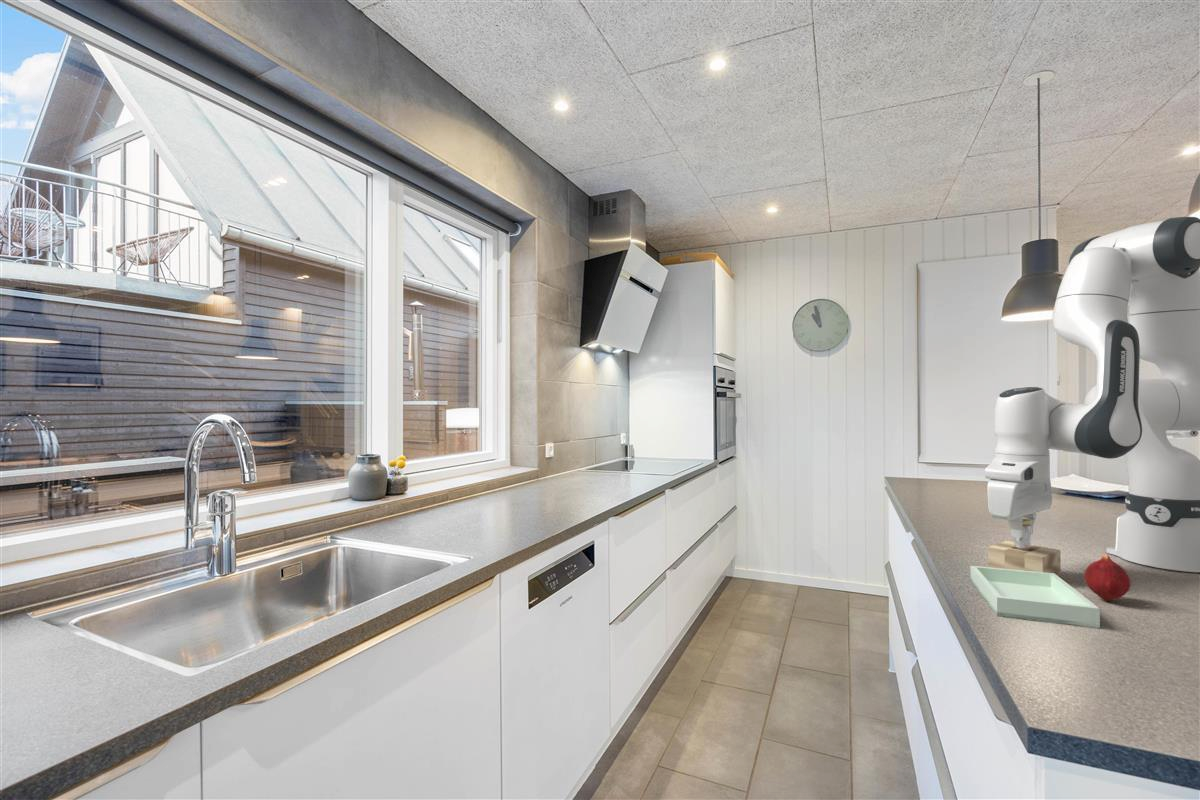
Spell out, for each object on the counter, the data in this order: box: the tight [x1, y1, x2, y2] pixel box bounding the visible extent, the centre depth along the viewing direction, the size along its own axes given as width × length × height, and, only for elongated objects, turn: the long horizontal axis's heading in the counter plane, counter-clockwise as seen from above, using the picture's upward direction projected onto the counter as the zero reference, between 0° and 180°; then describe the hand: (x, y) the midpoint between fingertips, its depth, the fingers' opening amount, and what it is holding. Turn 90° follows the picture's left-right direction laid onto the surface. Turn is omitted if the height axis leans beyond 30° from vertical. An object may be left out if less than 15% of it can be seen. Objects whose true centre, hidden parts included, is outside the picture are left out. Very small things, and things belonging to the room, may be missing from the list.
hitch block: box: [987, 540, 1062, 577], centre depth 108 cm, size 9×9×5 cm
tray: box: [970, 565, 1101, 629], centre depth 93 cm, size 18×13×3 cm
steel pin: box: [1013, 519, 1032, 552], centre depth 108 cm, size 3×3×10 cm
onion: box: [1083, 553, 1132, 602], centre depth 93 cm, size 6×6×8 cm
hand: (1022, 535), depth 108 cm, fingers closed on steel pin, 3 cm apart
